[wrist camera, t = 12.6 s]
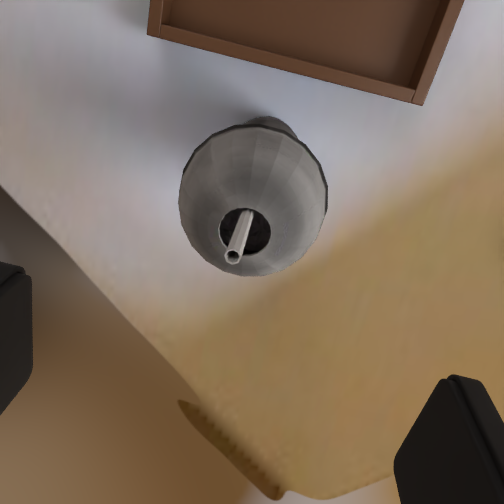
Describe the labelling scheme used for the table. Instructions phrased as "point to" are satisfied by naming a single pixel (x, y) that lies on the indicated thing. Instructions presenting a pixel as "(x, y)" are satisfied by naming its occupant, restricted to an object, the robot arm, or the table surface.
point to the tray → (321, 38)
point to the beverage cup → (253, 198)
